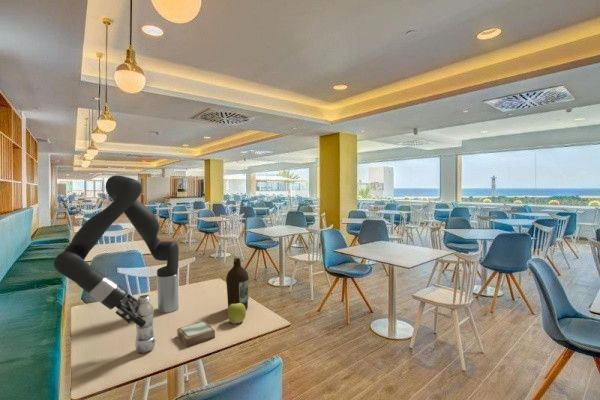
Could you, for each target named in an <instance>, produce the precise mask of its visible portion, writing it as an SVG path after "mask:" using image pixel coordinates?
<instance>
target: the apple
mask: <svg viewBox="0 0 600 400" xmlns="http://www.w3.org/2000/svg"><path fill="white" fill-rule="evenodd" d="M234 302H235V301H234ZM226 313H227V318H228V320H229V322H230V323H231V324H235V325H236V324H237V323H238V324H240V323H242V322H243V321H244V320H245V319H246V315H247V314H246V313H247V310H246V308H245V306H244V305H243V304H242V303H237V304H236V303H235V304H231V305H230V306H229V307H228V306H227V311H226Z"/></svg>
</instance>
